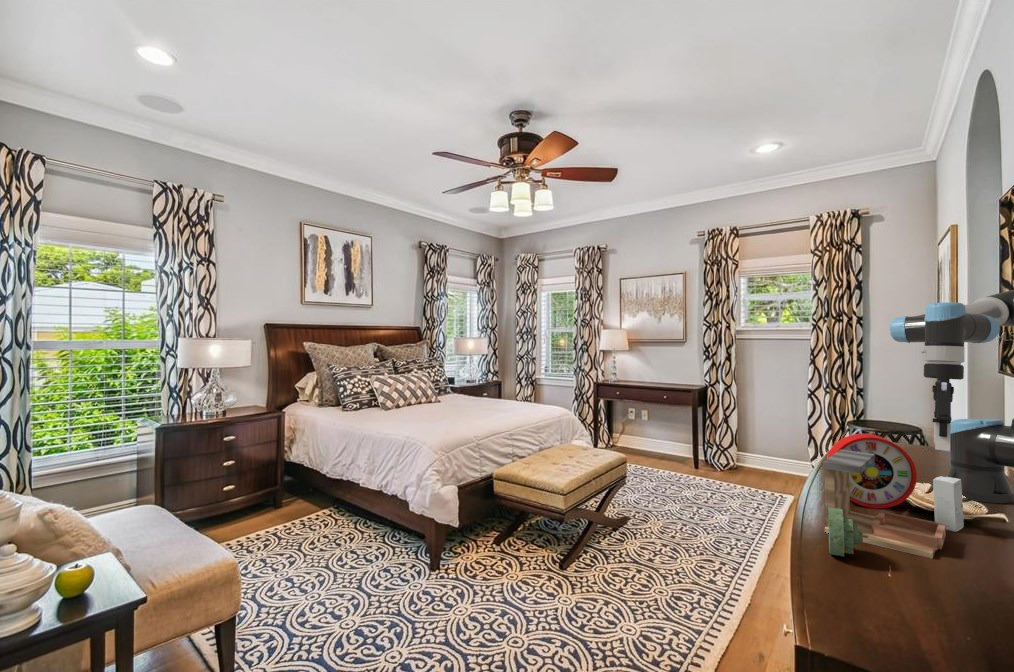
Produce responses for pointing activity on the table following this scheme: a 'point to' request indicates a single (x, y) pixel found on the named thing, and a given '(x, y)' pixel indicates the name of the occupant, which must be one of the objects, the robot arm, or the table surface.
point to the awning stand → (885, 526)
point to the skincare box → (948, 502)
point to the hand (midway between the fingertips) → (941, 447)
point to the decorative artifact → (842, 533)
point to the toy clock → (879, 471)
